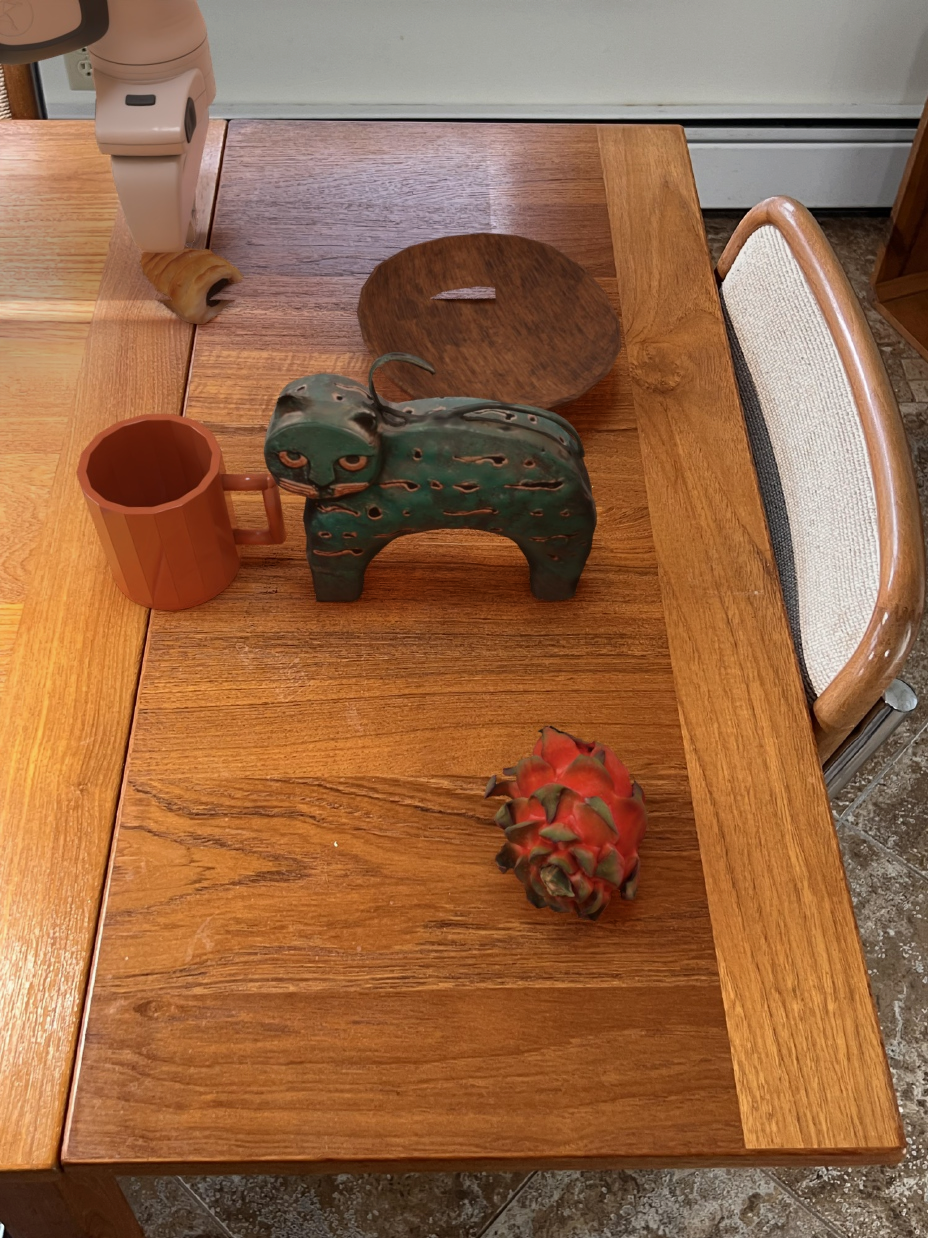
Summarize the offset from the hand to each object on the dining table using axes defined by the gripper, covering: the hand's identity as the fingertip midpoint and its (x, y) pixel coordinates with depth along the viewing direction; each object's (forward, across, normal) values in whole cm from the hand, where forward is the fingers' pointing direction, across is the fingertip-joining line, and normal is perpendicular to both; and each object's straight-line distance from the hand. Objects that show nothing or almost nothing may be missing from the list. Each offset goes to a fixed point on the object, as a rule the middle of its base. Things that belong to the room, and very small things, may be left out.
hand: (187, 233), depth 98 cm
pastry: (+3, +5, +1) cm, 6 cm away
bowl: (+3, +14, +25) cm, 29 cm away
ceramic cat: (+3, +36, +21) cm, 42 cm away
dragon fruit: (+3, +56, +28) cm, 63 cm away
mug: (+2, +34, +5) cm, 35 cm away
